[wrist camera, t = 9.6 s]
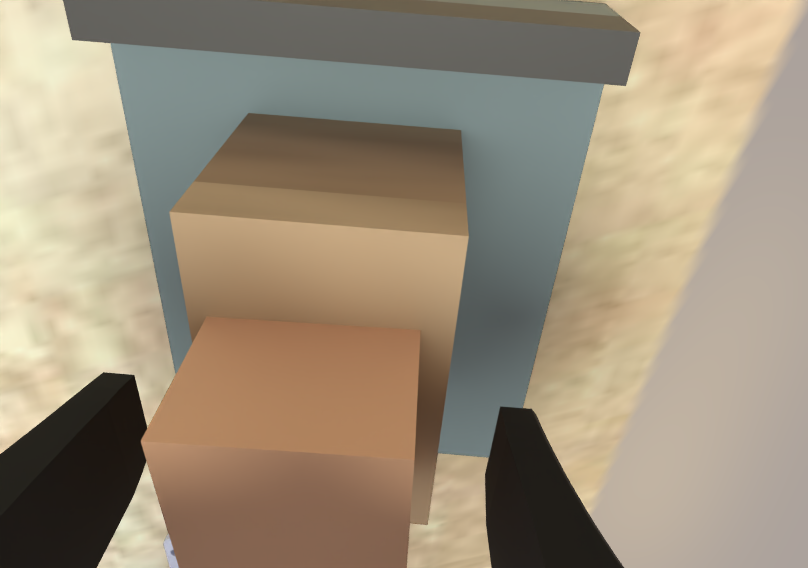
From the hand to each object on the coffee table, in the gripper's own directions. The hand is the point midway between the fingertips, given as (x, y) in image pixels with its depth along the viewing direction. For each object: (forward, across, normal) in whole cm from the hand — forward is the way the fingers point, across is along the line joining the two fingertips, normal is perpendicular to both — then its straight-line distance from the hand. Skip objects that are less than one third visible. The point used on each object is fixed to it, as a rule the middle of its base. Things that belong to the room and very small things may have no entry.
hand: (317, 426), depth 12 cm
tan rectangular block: (+6, 0, 0) cm, 6 cm away
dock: (+7, 0, 0) cm, 7 cm away
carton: (0, 0, 0) cm, 1 cm away
